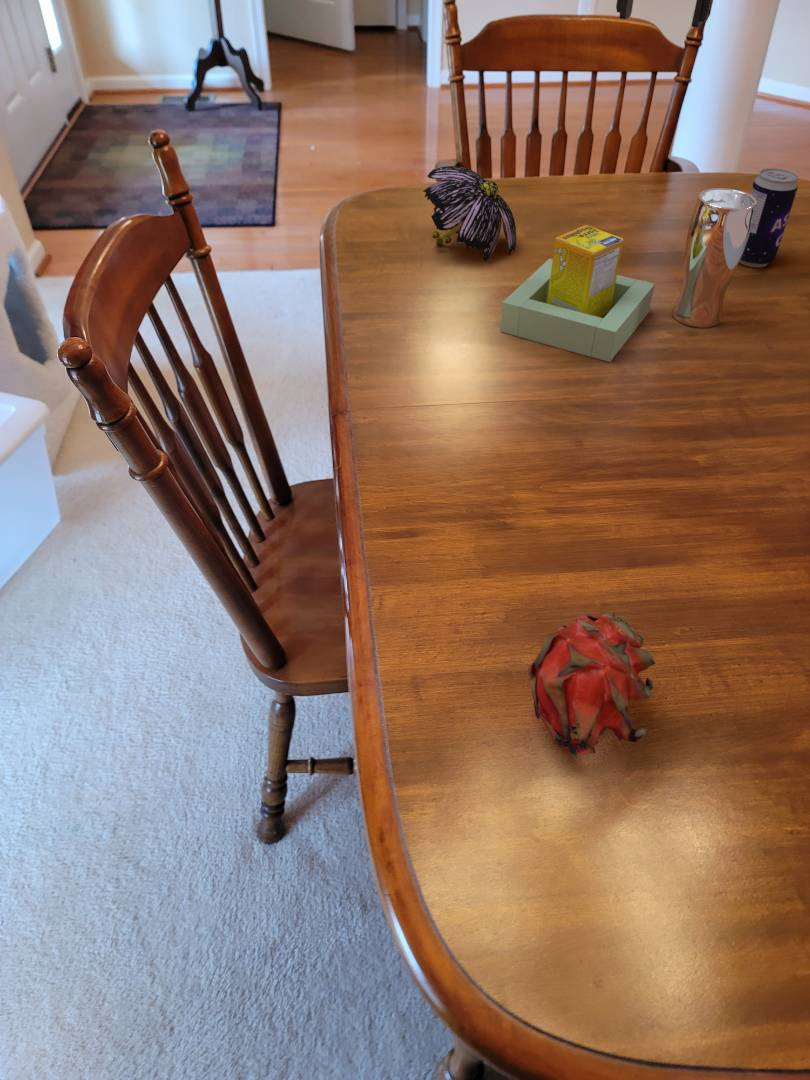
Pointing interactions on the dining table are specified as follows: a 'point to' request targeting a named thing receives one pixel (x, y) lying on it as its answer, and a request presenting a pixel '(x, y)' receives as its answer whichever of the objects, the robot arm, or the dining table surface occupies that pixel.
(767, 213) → the beverage can
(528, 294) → the socket
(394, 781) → the dining table surface
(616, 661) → the dragon fruit
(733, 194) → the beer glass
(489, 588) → the dining table surface
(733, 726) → the dining table surface
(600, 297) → the supplement box
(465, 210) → the decorative flower
